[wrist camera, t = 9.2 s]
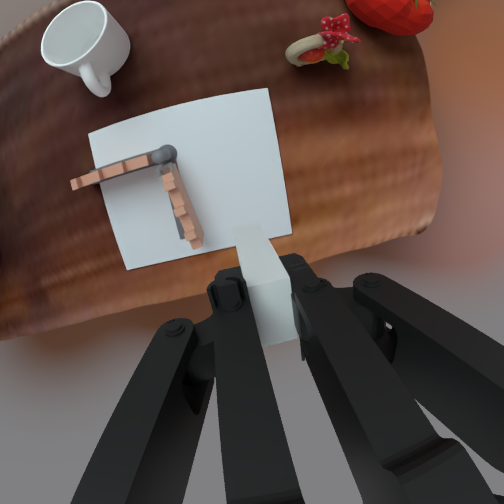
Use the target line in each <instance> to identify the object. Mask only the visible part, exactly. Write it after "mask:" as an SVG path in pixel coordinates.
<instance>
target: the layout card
mask: <svg viewBox="0 0 504 504" xmlns="http://www.w3.org/2000/svg"><path fill="white" fill-rule="evenodd" d="M88 135H89V140H90V144H91V149H92V154H93V158H94V163H95V167H96V169H94V170H91V171H90V173H92V172H94V171H97V170H100V169H103V168H106V167H109V166H112V165H115V164H118V163H121V162H124V161H128V160H131V159H134V158H137V157H141V156H144V155H148V154H153V153H154V152H155V151H158V150H164V149H169V150H171V151H172V157H171V159H169V160H167V161H164V162H162V163H159V164H157V163H153V164H151V165H148V166H144V167H141V168H137V169H134V170H131V171H128V172H125V173H122V174H119V175H115V176H112V177H109V178H106V179H103V180H101V181H98V182H95V183H93V185H95V184H98V183H100V187H101V190H102V194H103V198H104V201H105V205H106V208H107V212H108V215H109V218H110V222H111V225H112V228H113V231H114V234H115V237H116V240H117V243H118V246H119V249H120V252H121V255H122V258H123V260H124V263H125V266H126V269H127V270H130V269H134V268H139V267H143V266H147V265H152V264H156V263H161V262H165V261H169V260H174V259H178V258H183V257H187V256H192V255H196V254H201V253H205V252H210V251H214V250H219V249H223V248H228V247H232V246H236V244H235V240H234V235H233V230H232V228H237V227H242V226H246V225H251V224H256V223H260V225H261V227H262V229H263V230H264V232H265V234H266V236H267V237H268V239H269V238H274V237H278V236H283V235H288V234H292V229H291V222H290V215H289V209H288V202H287V195H286V189H285V183H284V176H283V170H282V164H281V158H280V152H279V147H278V141H277V135H276V130H275V124H274V119H273V113H272V108H271V103H270V98H269V93H268V88H264V89H257V90H250V91H243V92H237V93H231V94H226V95H220V96H215V97H210V98H205V99H201V100H196V101H192V102H187V103H183V104H179V105H175V106H171V107H168V108H164V109H160V110H157V111H153V112H150V113H147V114H143V115H140V116H137V117H134V118H131V119H128V120H125V121H122V122H119V123H116V124H113V125H110V126H108V127H105V128H102V129H100V130H97V131H94V132H92V133H89V134H88ZM170 162H172V164H173V163H175V164H176V167H177V169H178V172H179V174H180V177H181V179H182V182H183V184H184V187H185V189H186V192H187V194H188V196H189V199H190V201H191V204H192V206H193V209H194V211H195V213H196V216H197V218H198V221H199V223H200V225H201V228H202V230H203V233H204V236H203V247H200V248H198V249H195V250H193V249H192V247H191V244H190V242H189V241H186V239H185V236H184V233H185V231H184V229H183V226H182V224H181V222H180V219H179V217H176V216H175V214H174V211H173V210H174V205H173V203H172V201H171V198H170V196H169V193H168V191H167V192H165V190H164V188H163V184H164V181H163V179H162V176H161V177H159V176H158V174H157V171H156V169H157V168H159V167H161V166H163V165H166V164H168V163H170Z"/></svg>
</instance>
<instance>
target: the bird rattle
mask: <svg viewBox="0 0 504 504" xmlns="http://www.w3.org/2000/svg"><path fill="white" fill-rule="evenodd" d="M320 24H321V28H322V30H323V32H322V33H317V34H316V35H313V36H309V37H306V38H303V39H301V40H299V41H297V42H295V43H293V44H292V45H291V46H289V47H288V48H287V50H286V52H285V55H286V58H287V60H288V61H289V62H290V63H292V64H295V65H296V66H297V67H300V66H303V65H306V64H311V63H317V62H319V61H322V60H327V61H328V62H329V63H331V64H336V63H339V64H340V65H341V66H342V68H343V69H349V66H348V64H347V62H348V60H349V56H348V54H347V53H346V52H345V51H344V50H342V44H343V42H344V40H346V41H350V42H353V43H355V42H357V43H360V39H359V38H356V37H353V36H352V35H349V34H348V33H349V32H350V31H351V28H350V18H349V15H348V14H347V13H344V14H342V15H340V16H338V17H336V18H331V17H324V18H322V21H321V23H320Z"/></svg>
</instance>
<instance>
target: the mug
mask: <svg viewBox="0 0 504 504" xmlns="http://www.w3.org/2000/svg"><path fill="white" fill-rule="evenodd" d="M129 52H130V40H129V37H128V35H127V34H126V32H125V31H124V30H123V29H122V27H121V26H120V25H119V24H118V23H117V22H116V20H115V19H114V18H113V17H112V16H111V15H110V14H109V12H108V11H107V10H106V9H105V8H104V7H103V6H102V5H101V4H100V3H98V2H95V1H82V2H78V3H76V4H73V5H71V6H69V7H67V8H66V9H64V10H63V11H62V12H60V13H59V14H58V15H57V16H56V17H55V18H54V19H53V20H52V22H51V23H50V24H49V26H48V27H47V29H46V31H45V33H44V36H43V39H42V43H41V53H42V56H43V58H44V60H45V61H46V62H47V63H48V64H49V65H51V66H54V67H57V68H59V69H62V70H64V71H67V72H69V73H72V74H74V75H77V76H79V77H82V79H83V81H84V83H85V84H86V86H87V87H88V88H89V90H90V91H91V92H92V93H93V94H95V95H96V96H99V97H105V96H107V95H108V94H109V93H110V91H111V80H110V76H111V75H113V74H114V73H115V72H117V71H118V70H119V69H120V68H121V67H122V66H123V64H124V63H125V61H126V60H127V58H128V55H129ZM99 81H100V82H99Z"/></svg>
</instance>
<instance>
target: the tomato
mask: <svg viewBox="0 0 504 504" xmlns="http://www.w3.org/2000/svg"><path fill="white" fill-rule="evenodd" d="M345 1H346V4H347V7H348V9H349V10H350V11H351V12H352V13H353V14H354V15H355V16H356V17H357V18H358V19H360V20H361V21H362V22H364V23H365V24H367V25H368V26H371V27H375V28H379V29H382V30H384V31H386V32H388V33H389V34H392V35H396V36H404V35H416V34H418V33H420V32H422V31H424V30H425V29H427V28H428V27H429V25H430V24H431V23H432V21H433V13H434V12H433V10H432V8H431V6H430V1H431V2H432V3H434V2H433V1H432V0H345ZM434 5H435V4H434Z"/></svg>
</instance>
